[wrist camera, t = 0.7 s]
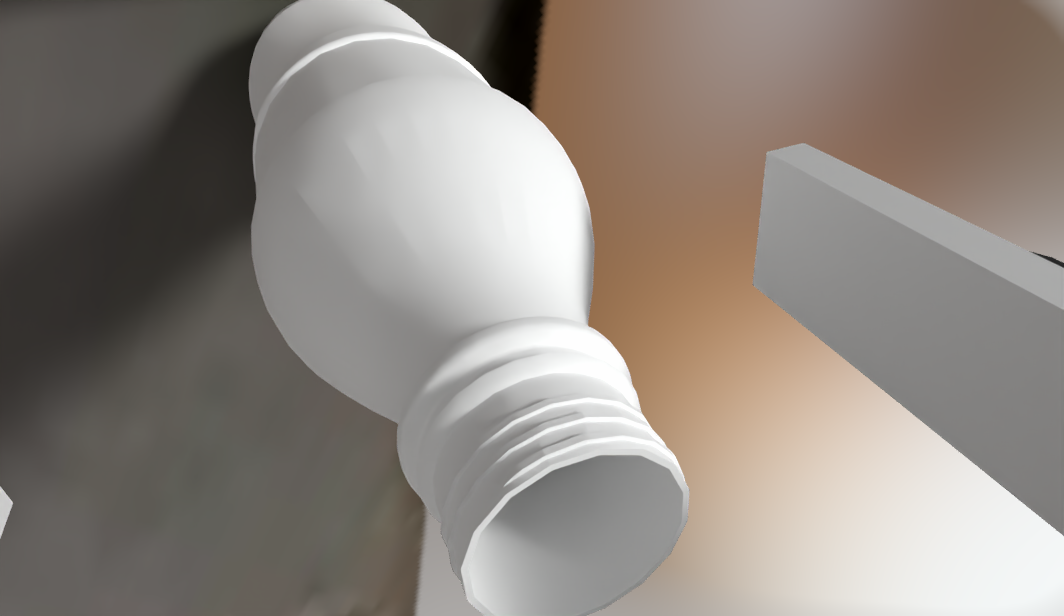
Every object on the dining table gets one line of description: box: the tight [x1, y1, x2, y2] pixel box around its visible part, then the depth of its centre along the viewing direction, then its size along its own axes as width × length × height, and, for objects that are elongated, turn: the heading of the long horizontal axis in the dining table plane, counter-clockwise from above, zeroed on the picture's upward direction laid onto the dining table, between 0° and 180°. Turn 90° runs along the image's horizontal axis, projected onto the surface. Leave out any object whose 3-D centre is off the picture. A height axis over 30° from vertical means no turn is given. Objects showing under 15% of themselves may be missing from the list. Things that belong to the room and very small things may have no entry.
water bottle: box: [249, 0, 689, 616], centre depth 18 cm, size 7×7×25 cm
